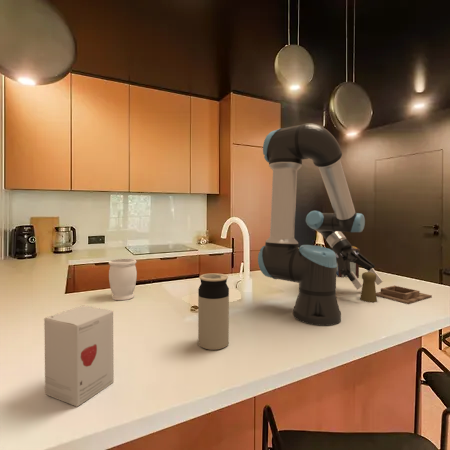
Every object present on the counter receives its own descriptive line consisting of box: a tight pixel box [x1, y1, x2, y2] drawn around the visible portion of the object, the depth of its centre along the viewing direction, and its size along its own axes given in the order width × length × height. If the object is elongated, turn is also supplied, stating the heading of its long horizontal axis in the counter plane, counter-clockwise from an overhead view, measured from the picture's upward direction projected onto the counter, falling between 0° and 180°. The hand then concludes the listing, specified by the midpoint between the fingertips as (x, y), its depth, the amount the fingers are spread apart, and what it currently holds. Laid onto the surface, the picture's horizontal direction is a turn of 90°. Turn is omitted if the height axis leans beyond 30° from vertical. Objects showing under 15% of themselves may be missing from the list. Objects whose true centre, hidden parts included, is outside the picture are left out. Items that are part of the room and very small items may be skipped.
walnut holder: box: [376, 285, 433, 305], centre depth 124 cm, size 18×14×3 cm
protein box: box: [336, 245, 360, 279], centre depth 165 cm, size 10×15×16 cm
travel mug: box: [197, 272, 230, 351], centre depth 78 cm, size 8×8×18 cm
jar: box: [108, 258, 138, 301], centre depth 120 cm, size 11×10×15 cm
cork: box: [359, 271, 378, 303], centre depth 118 cm, size 6×6×11 cm
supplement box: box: [43, 304, 115, 408], centre depth 58 cm, size 9×9×15 cm
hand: (370, 285), depth 118 cm, fingers open, 13 cm apart
